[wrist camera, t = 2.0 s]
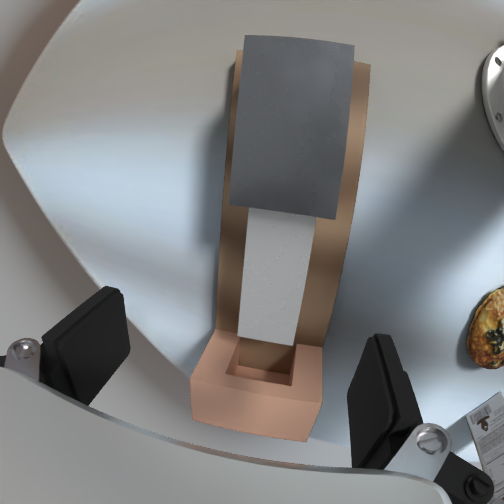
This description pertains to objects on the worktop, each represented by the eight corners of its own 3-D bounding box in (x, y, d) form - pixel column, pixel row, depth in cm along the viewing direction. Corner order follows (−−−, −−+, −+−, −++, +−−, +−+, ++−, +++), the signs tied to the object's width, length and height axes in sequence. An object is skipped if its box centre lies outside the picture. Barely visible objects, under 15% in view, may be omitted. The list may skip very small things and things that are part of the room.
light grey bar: (272, 71, 18) (263, 55, 14) (329, 78, 18) (334, 63, 14) (248, 308, 25) (237, 336, 21) (296, 316, 24) (292, 345, 20)
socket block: (215, 328, 27) (189, 378, 21) (322, 347, 26) (322, 403, 19) (214, 370, 29) (192, 419, 23) (310, 388, 28) (306, 442, 21)
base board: (241, 55, 20) (236, 50, 19) (366, 69, 19) (370, 64, 17) (218, 365, 31) (214, 373, 29) (309, 381, 29) (309, 391, 28)
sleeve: (261, 62, 19) (244, 35, 13) (343, 71, 18) (354, 45, 12) (249, 190, 22) (228, 204, 17) (328, 201, 22) (335, 220, 16)
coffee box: (506, 415, 27) (535, 491, 12) (473, 437, 29) (495, 516, 14) (500, 389, 26) (539, 477, 11) (462, 415, 28) (491, 508, 13)
